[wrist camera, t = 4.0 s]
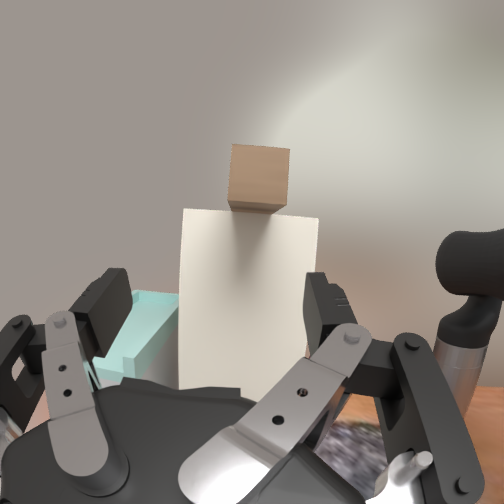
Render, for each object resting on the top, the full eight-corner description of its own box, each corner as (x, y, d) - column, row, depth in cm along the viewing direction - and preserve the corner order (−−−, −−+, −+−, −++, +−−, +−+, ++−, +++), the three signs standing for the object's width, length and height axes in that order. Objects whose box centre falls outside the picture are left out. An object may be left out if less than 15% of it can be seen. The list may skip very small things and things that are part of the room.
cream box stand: (195, 428, 39) (201, 216, 38) (272, 432, 40) (294, 223, 38) (184, 480, 27) (183, 208, 26) (281, 484, 28) (318, 218, 26)
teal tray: (135, 304, 46) (135, 289, 46) (187, 310, 46) (188, 294, 46) (49, 364, 20) (45, 339, 20) (135, 385, 21) (133, 358, 21)
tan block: (234, 219, 39) (236, 193, 39) (261, 221, 39) (263, 195, 39) (227, 200, 17) (232, 143, 17) (286, 204, 17) (289, 148, 17)
